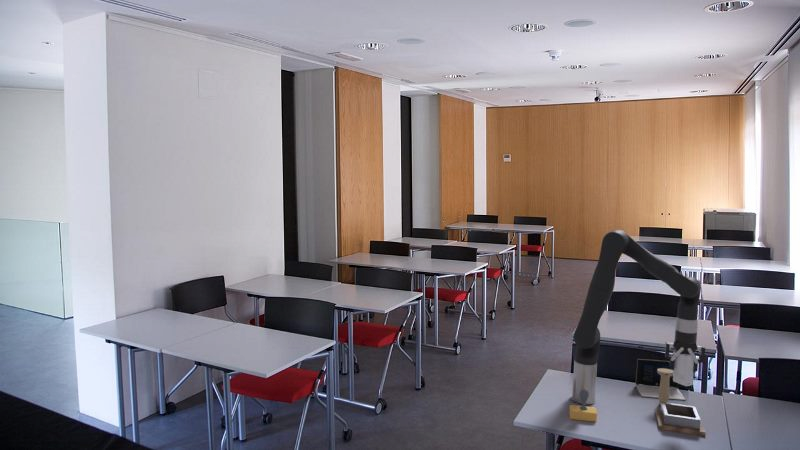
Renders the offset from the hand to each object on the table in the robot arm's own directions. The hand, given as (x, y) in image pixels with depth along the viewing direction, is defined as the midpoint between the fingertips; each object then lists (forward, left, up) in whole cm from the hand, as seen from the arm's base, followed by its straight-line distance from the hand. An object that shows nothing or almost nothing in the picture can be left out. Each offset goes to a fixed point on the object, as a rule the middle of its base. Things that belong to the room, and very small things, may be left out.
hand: (683, 370), depth 224 cm
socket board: (0, 0, -22) cm, 22 cm away
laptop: (-4, +30, -22) cm, 38 cm away
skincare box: (0, 0, -5) cm, 5 cm away
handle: (-4, +17, -22) cm, 28 cm away
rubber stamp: (-36, -7, -22) cm, 43 cm away
